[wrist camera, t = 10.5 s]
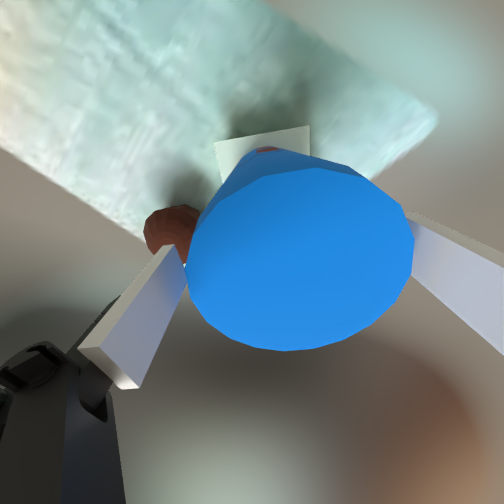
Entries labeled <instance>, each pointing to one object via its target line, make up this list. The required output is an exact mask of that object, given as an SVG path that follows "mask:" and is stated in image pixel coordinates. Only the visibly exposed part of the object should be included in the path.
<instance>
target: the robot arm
mask: <svg viewBox="0 0 504 504" xmlns="http://www.w3.org/2000/svg"><path fill="white" fill-rule="evenodd" d="M404 214H405V217H406V219H407V222H408V224H409V226H410V229H411V231H412V234H413V236H414V238H415V243H414V252H413V262H412V272H411V275H412V276H413V277H414V278H415V279H416V280H417V281H419V282H420V283H421V284H422V285H423V286H424V287H425V288H427V289H428V290H429V291H430V292H431V293H432V294H434V295H435V296H436V297H437V298H438V299H439V300H440V301H442V302H443V303H444V304H445V305H446V306H447V307H448V308H450V309H451V310H452V311H453V312H454V313H455V314H457V315H458V316H459V317H460V318H461V319H462V320H464V321H465V322H466V323H467V324H468V325H469V326H470V327H472V328H473V329H474V330H475V331H476V332H477V333H478V334H480V335H481V336H482V337H483V338H484V339H485V340H487V341H488V342H489V343H490V344H491V345H492V346H493V347H494V348H496V349H497V350H498V351H499V352H500V353H502V354H503V355H504V253H502V252H500V251H497V250H495V249H493V248H491V247H489V246H487V245H485V244H483V243H480V242H478V241H476V240H474V239H472V238H470V237H467V236H465V235H463V234H461V233H459V232H457V231H454V230H452V229H450V228H448V227H446V226H444V225H441V224H439V223H437V222H435V221H433V220H430V219H428V218H426V217H424V216H422V215H420V214H418V213H415V212H405V213H404ZM186 284H187V278H186V273H185V268H184V266H183V264H182V261H181V259H180V257H179V254H178V252H177V249H176V247H175V245H174V244H172V245H164V246H162V247H161V248H160V249H159V251H158V252H157V253H156V254H155V255H154V257H153V258H152V259H151V260H150V261H149V263H148V264H147V265H146V266H145V267H144V269H143V270H142V271H141V272H140V273H139V275H138V276H137V277H136V278H135V279H134V281H133V282H132V283H131V284H130V285H129V287H128V288H127V289H126V290H125V291H124V293H123V294H122V295H120V296H119V297H118V298H116V299H115V300H113V301H112V302H111V303H110V304H109V305H108V306H107V307H106V308H105V309H104V310H103V312H102V313H101V315H99V317H97V319H96V320H95V322H94V323H92V324H91V325H90V327H89V328H88V329H87V330H86V331H85V333H84V334H83V335H82V336H81V337H80V338H79V340H78V341H77V342H76V343H75V344H74V345H73V346H72V348H71V349H70V350H69V351H68V352H67V353H66V354H64V353H63V352H62V351H61V350H60V349H58V348H57V347H56V346H55V345H54V344H53V343H51V342H48V341H43V342H39V343H36V344H33V345H31V346H29V347H27V348H25V349H24V350H22V351H20V352H18V353H17V354H15V355H14V356H13V357H11V358H10V359H9V360H7V361H6V362H5V363H4V364H3V365H2V366H1V367H0V384H1V385H2V386H4V387H6V388H5V389H1V388H0V504H126V500H125V493H124V485H123V477H122V470H121V462H120V455H119V447H118V439H117V432H116V424H115V416H114V409H113V401H112V396H111V394H110V392H109V391H108V390H109V388H110V386H111V385H112V383H113V382H114V383H115V384H116V385H117V386H118V387H119V388H120V389H132V388H140V385H141V383H142V381H143V379H144V377H145V374H146V372H147V370H148V368H149V366H150V363H151V361H152V359H153V357H154V354H155V352H156V350H157V348H158V346H159V343H160V341H161V339H162V337H163V335H164V332H165V330H166V328H167V326H168V323H169V321H170V319H171V317H172V314H173V312H174V310H175V308H176V306H177V304H178V301H179V299H180V297H181V295H182V292H183V290H184V288H185V286H186Z"/></svg>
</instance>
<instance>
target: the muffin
mask: <svg viewBox="0 0 504 504" xmlns="http://www.w3.org/2000/svg"><path fill="white" fill-rule="evenodd" d="M199 217H200V213H199V211H198V210H196V209H193V208H191V207H189V206H187V205H181V206H174V207H170V208H165V209H161V210H157V211H154V212H153V213H152V214H151V215H150V216H149V217H148V218H147V219H146V222H145V226H144V231H143V233H144V236H145V240H146V243H147V246H148V248H149V250H150V251H151V252H152V253H153V255H155V254H156V253H157V252H158V251H159V249H160V248H161V247H162V246H164V245H172V244H174V245H175V247H176V249H177V252H178V254H179V257H180V259H181V261H182V264H184V263H186V261H187V257H188V253H189V249H190V245H191V241H192V237H193V233H194V231H195V228H196V225H197V222H198V219H199Z"/></svg>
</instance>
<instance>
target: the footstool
mask: <svg viewBox="0 0 504 504" xmlns="http://www.w3.org/2000/svg"><path fill="white" fill-rule="evenodd" d="M213 143H214V148H215V152H216V157H217V161H218V166H219V170H220V175H221V179H222V184H223V183H224V182H225V180H226V179H227V178H228V176H229V175H230V173H231V172H232V171H233V169H234V168H235V166H236V165H237V164H238V162H239V161H240V160H241V158H242V157H243V156H244V155H246V154H248V153H249V152H251V151H252V150H254V149H256V148H261V147H266V146H273V147H277V148H282V149H286V150H290V151H293V152H297V153H301V154H305V155H308V156H310V125H307V126H301V127H296V128H290V129H285V130H279V131H274V132H268V133H262V134H257V135H251V136H246V137H240V138H235V139H229V140H224V141H218V142H213Z"/></svg>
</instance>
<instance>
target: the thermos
mask: <svg viewBox="0 0 504 504" xmlns="http://www.w3.org/2000/svg"><path fill="white" fill-rule="evenodd" d="M414 243H415V238H414V236H413V234H412V231H411V229H410V226H409V224H408V222H407V219H406V217H405V214H404V212H403V210H402V207H401V205H400V204H399V203H397V202H396V201H395V200H393V199H392V198H391V197H389V196H388V195H387V194H386V193H384V192H383V191H382V190H380V189H379V188H378V187H377V186H375V185H374V184H373V183H372V182H370V181H369V180H368V179H366V178H365V177H363V176H362V175H360V174H359V173H358V172H356V171H355V170H353V169H352V168H350V167H349V166H346V165H342V164H338V163H334V162H331V161H327V160H323V159H320V158H316V157H312V156H308V155H305V154H301V153H297V152H293V151H290V150H286V149H282V148H277V147H273V146H266V147H261V148H256V149H254V150H252V151H251V152H249V153H248V154H246V155H244V156H243V157H242V158H241V160H240V161H239V162H238V164H237V165H236V166H235V168H234V169H233V171H232V172H231V173H230V175H229V176H228V178H227V179H226V180H225V182H224V183H223V185H222V186H221V187H220V189H219V190H218V192H217V193H216V194H215V196H214V197H213V198H212V200H211V201H210V203H209V204H208V205H207V207H206V208H205V210H204V211H203V212H202V214H201V215H200V217H199V219H198V222H197V225H196V228H195V231H194V233H193V237H192V241H191V245H190V249H189V253H188V257H187V261H186V266H185V273H186V278H187V283H188V288H189V293H190V298H191V299H192V301H193V303H194V304H195V305H196V307H197V308H198V310H199V311H200V312H201V314H202V316H203V317H204V318H205V320H206V321H207V322H208V323H210V324H211V325H212V326H214V327H215V328H216V329H218V330H219V331H220V332H222V333H223V334H225V335H226V336H227V337H229V338H231V339H234V340H236V341H239V342H242V343H245V344H247V345H250V346H253V347H255V348H263V349H271V350H280V351H291V350H303V349H314V348H317V347H321V346H324V345H327V344H331V343H334V342H337V341H341V340H344V339H346V338H347V337H349V336H351V335H353V334H355V333H357V332H358V331H360V330H362V329H364V328H366V327H368V326H369V325H371V324H372V323H373V322H374V321H375V320H377V318H379V317H380V316H381V315H382V314H383V313H384V312H385V311H386V310H387V309H388V308H389V307H390V306H391V305H393V304H394V303H395V301H396V300H397V298H398V296H399V294H400V293H401V291H402V289H403V287H404V285H405V283H406V282H407V280H408V278H409V276H410V275H411V272H412V262H413V252H414Z"/></svg>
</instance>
